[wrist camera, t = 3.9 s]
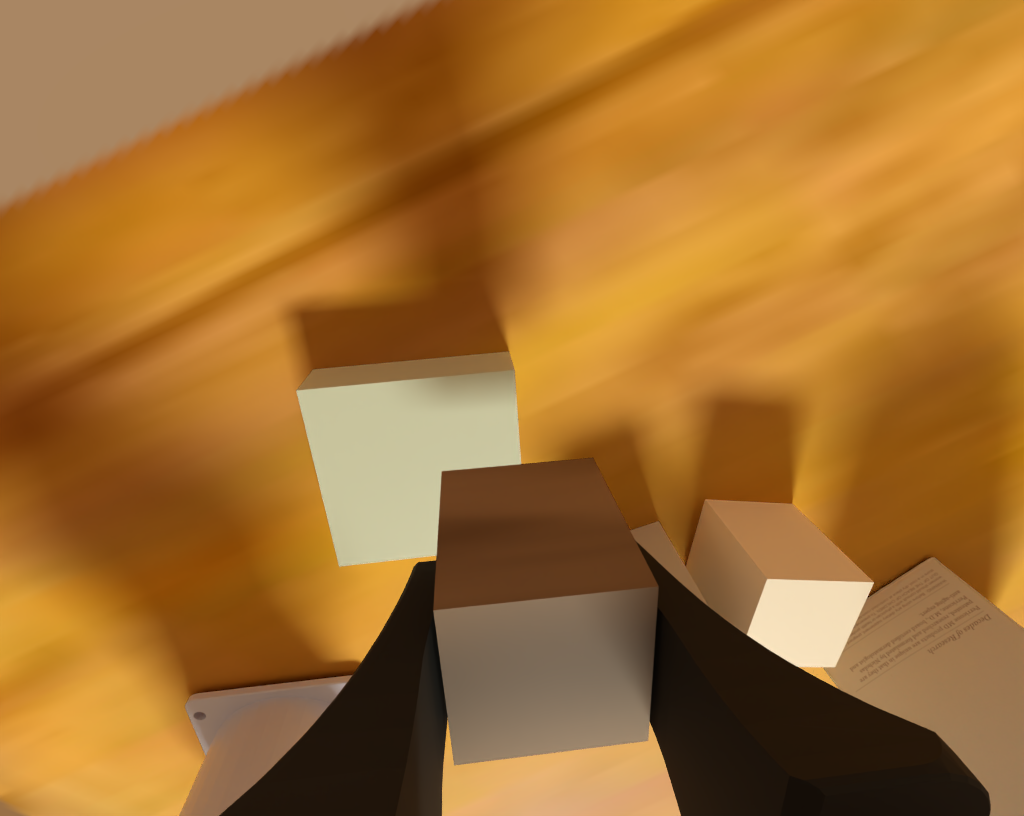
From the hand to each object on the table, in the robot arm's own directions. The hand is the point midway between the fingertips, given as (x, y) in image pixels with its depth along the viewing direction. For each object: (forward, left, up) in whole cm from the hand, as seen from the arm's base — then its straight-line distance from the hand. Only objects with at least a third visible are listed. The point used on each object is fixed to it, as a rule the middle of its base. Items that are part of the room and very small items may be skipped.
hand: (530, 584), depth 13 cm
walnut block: (0, 0, -2) cm, 2 cm away
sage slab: (0, +3, -9) cm, 9 cm away
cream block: (-6, -10, -8) cm, 14 cm away
